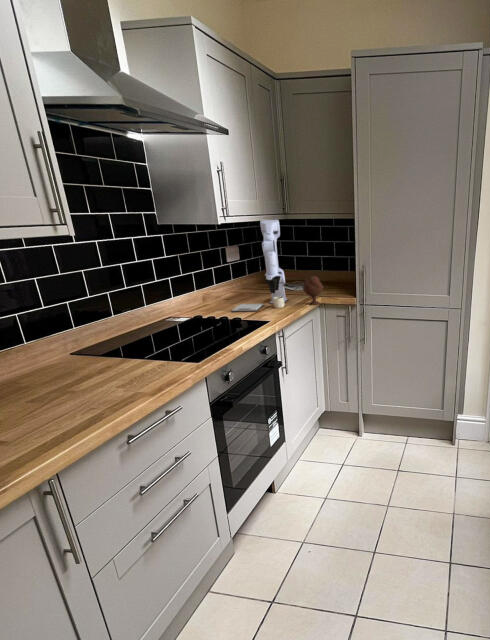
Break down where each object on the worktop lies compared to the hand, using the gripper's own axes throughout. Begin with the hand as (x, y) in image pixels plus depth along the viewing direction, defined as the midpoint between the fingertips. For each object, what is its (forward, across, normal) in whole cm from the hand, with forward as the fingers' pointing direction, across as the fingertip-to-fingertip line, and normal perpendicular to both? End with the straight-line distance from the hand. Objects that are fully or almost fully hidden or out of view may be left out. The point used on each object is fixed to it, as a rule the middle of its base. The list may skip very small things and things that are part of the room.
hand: (274, 291), depth 228 cm
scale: (+9, 0, -15) cm, 17 cm away
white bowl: (+9, -2, +1) cm, 9 cm away
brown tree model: (+9, -8, +19) cm, 22 cm away
